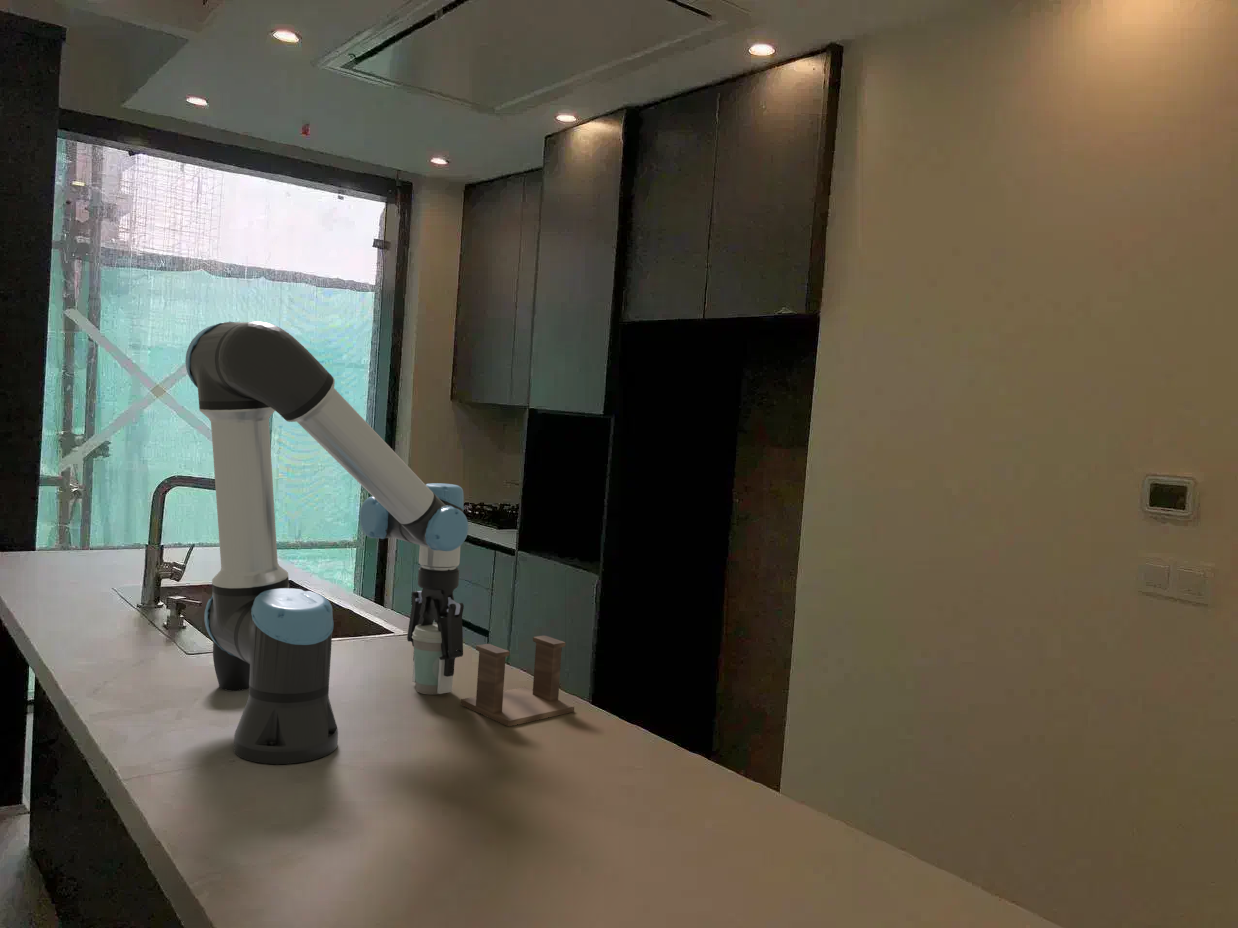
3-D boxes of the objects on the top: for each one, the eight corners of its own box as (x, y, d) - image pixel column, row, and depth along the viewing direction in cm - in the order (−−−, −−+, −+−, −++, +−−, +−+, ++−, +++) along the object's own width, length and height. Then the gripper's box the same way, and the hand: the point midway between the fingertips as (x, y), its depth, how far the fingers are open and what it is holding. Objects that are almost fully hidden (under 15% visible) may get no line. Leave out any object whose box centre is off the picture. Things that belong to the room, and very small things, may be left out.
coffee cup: (429, 699, 178) (433, 634, 177) (398, 689, 183) (402, 625, 182) (464, 690, 185) (468, 628, 184) (433, 680, 190) (437, 619, 189)
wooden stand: (506, 726, 166) (511, 658, 165) (458, 704, 176) (462, 640, 175) (575, 711, 177) (580, 647, 176) (526, 691, 187) (531, 630, 186)
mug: (287, 685, 180) (289, 634, 180) (223, 695, 172) (225, 642, 171) (266, 674, 186) (268, 625, 186) (203, 684, 177) (205, 632, 177)
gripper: (488, 574, 178) (480, 697, 179) (425, 556, 192) (418, 670, 194) (454, 577, 172) (446, 704, 174) (392, 558, 187) (385, 675, 188)
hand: (431, 686), depth 184 cm, fingers closed on coffee cup, 8 cm apart
